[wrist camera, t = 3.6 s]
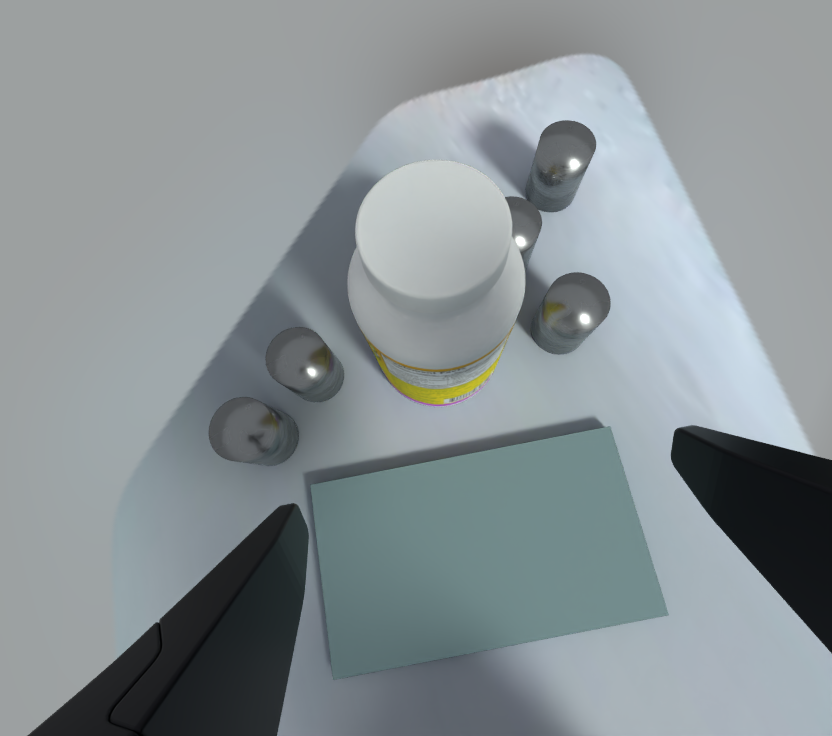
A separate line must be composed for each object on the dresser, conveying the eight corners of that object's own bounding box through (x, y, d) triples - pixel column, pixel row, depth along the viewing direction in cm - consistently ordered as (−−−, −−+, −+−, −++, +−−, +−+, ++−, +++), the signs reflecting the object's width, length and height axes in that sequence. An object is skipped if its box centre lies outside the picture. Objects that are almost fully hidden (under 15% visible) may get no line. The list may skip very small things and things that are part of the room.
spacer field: (643, 393, 24) (682, 374, 20) (247, 470, 24) (210, 466, 20) (566, 167, 28) (586, 115, 24) (228, 234, 28) (194, 193, 24)
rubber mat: (662, 611, 21) (668, 615, 21) (336, 674, 21) (333, 680, 21) (606, 427, 24) (610, 426, 23) (313, 485, 24) (310, 484, 23)
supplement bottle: (399, 288, 26) (362, 111, 14) (507, 314, 26) (569, 151, 13) (365, 393, 25) (290, 297, 12) (480, 424, 24) (520, 355, 12)
